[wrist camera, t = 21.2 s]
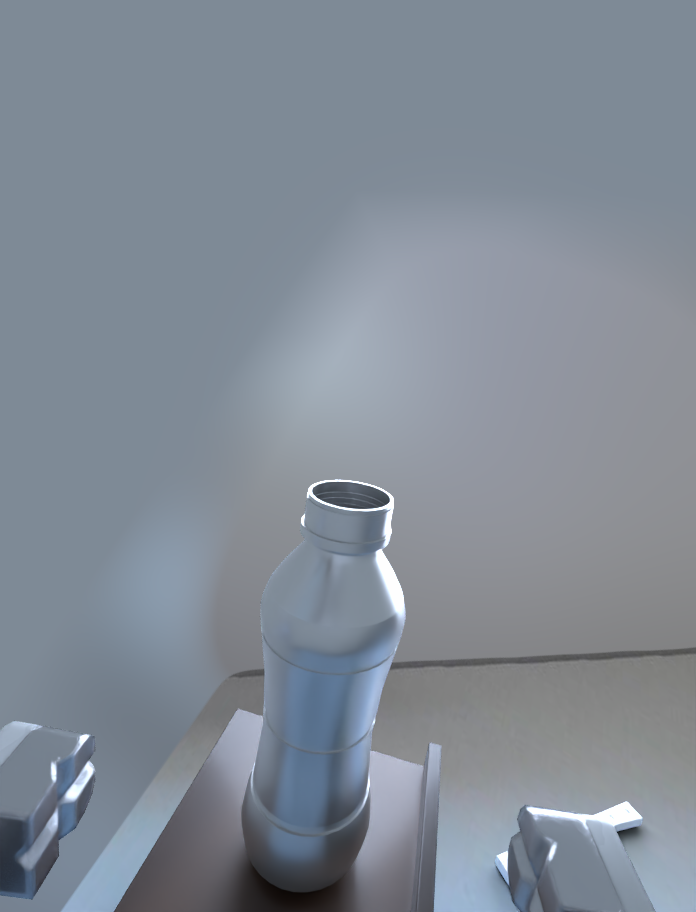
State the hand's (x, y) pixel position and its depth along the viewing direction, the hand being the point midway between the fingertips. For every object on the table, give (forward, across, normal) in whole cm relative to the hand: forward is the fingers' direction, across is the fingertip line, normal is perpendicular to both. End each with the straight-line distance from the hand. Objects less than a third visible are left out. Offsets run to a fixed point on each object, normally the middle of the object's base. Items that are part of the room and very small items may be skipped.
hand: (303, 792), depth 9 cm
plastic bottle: (+12, 0, +18) cm, 22 cm away
